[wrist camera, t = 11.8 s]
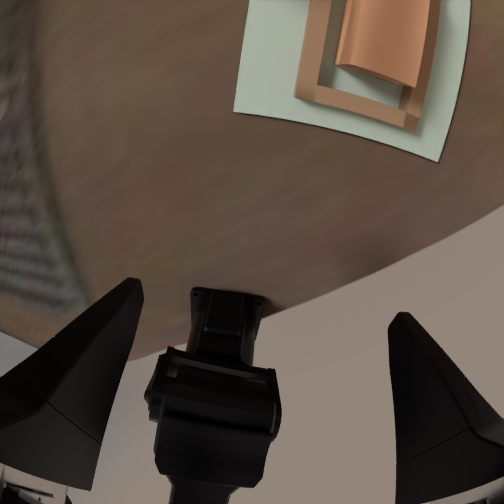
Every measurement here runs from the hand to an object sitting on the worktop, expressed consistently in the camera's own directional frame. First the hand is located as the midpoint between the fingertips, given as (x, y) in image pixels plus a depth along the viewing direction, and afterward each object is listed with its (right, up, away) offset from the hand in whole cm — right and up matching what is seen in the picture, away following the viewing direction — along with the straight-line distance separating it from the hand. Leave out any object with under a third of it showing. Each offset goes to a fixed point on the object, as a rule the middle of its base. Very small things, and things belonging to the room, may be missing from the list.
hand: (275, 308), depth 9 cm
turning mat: (+6, +15, +2) cm, 17 cm away
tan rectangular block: (+6, +15, +1) cm, 17 cm away
